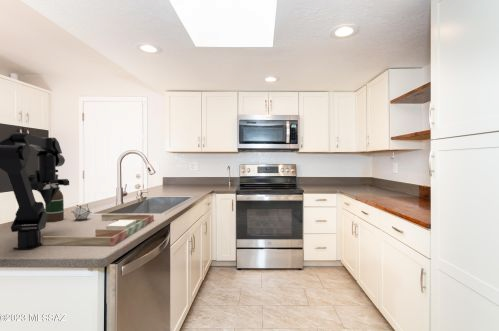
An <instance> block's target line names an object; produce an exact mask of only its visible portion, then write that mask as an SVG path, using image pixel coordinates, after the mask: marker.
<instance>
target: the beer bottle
mask: <svg viewBox="0 0 499 331" xmlns="http://www.w3.org/2000/svg"><path fill="white" fill-rule="evenodd" d="M56 179H59V174H57V173H56ZM56 186H57V187H60V185H56ZM64 206H65V205H64V195H63V193H62V191H61V190H60V189H58V191H57V192H56V194H55V196H54V197H53V199H52V201H51V203H50V204H49V205H46V204H45V203H44V208H45V212H46V213H47V219H46V223H54V222H60V221H64V216H65V214H64V211H65V210H64Z"/></svg>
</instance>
